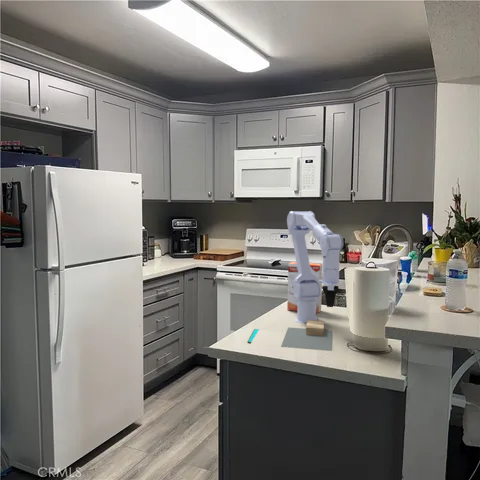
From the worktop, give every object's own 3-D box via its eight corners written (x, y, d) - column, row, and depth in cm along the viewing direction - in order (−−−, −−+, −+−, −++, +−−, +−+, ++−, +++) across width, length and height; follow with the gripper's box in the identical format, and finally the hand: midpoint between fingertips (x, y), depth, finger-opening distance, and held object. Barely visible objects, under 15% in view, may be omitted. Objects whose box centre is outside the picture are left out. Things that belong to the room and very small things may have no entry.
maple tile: (305, 334, 146) (307, 326, 155) (323, 335, 144) (324, 327, 154) (306, 327, 145) (307, 319, 155) (323, 328, 144) (324, 321, 154)
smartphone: (247, 341, 138) (254, 328, 152) (247, 344, 138) (254, 331, 152) (269, 343, 136) (274, 330, 151) (269, 345, 136) (274, 332, 151)
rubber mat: (288, 328, 154) (288, 327, 154) (332, 331, 151) (332, 330, 151) (280, 348, 133) (280, 346, 133) (332, 352, 129) (332, 350, 129)
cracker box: (286, 310, 181) (287, 263, 180) (290, 307, 187) (291, 261, 185) (318, 313, 176) (319, 265, 174) (321, 310, 182) (322, 263, 180)
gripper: (319, 265, 154) (318, 301, 155) (319, 271, 140) (318, 310, 141) (339, 266, 153) (338, 302, 154) (340, 272, 138) (339, 312, 139)
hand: (330, 306), depth 147 cm, fingers closed
